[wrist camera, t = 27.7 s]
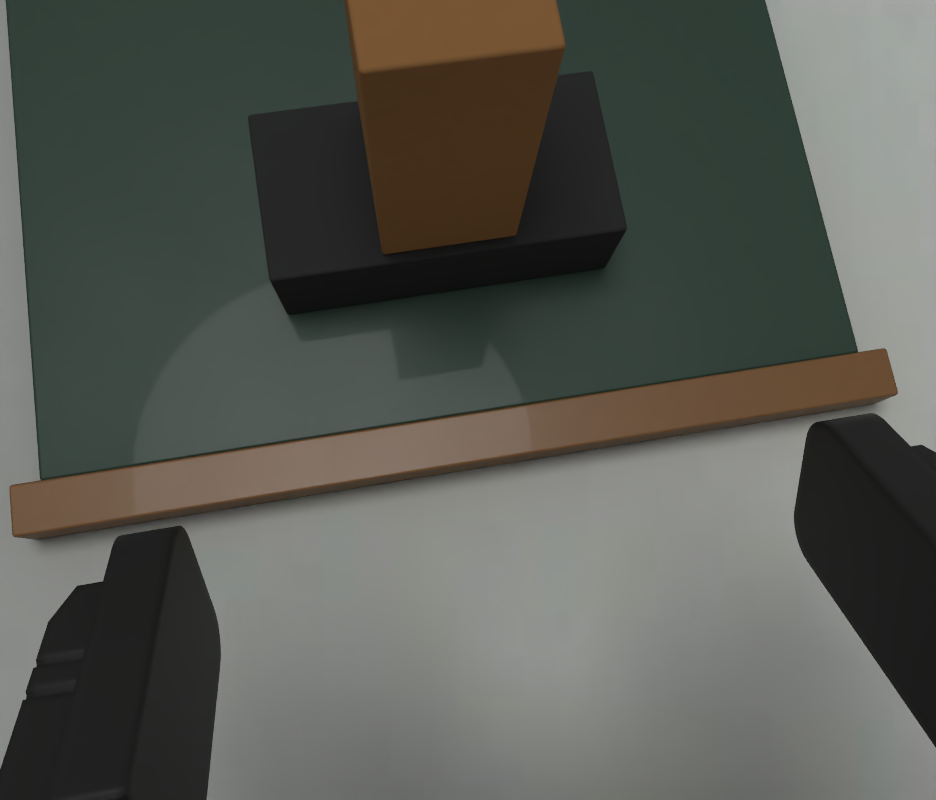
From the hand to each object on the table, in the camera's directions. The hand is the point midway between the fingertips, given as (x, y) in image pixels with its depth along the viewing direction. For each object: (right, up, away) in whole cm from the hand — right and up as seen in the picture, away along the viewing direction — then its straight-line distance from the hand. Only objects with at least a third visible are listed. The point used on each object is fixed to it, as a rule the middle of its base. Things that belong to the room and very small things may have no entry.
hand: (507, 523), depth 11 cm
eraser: (-1, +6, +11) cm, 12 cm away
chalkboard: (-2, +9, +12) cm, 15 cm away
